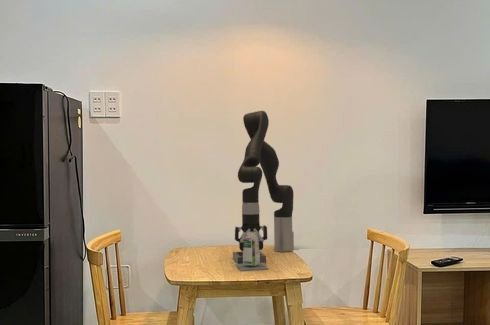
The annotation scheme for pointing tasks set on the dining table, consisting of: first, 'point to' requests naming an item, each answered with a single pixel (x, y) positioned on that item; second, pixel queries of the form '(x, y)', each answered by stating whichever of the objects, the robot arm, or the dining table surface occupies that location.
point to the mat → (251, 267)
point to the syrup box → (251, 249)
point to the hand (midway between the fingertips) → (251, 250)
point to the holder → (239, 257)
